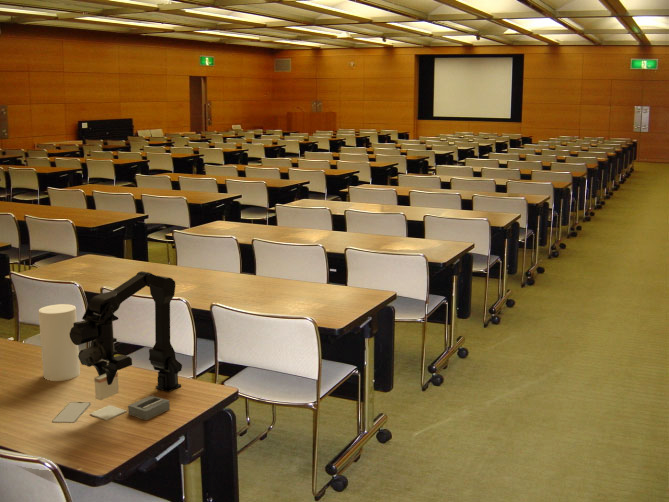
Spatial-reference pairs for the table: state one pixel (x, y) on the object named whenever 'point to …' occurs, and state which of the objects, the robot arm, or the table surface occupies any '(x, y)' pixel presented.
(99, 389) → the cream rectangular block
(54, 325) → the cylinder
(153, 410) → the dispenser
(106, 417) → the mat
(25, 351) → the table surface
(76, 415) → the smartphone
